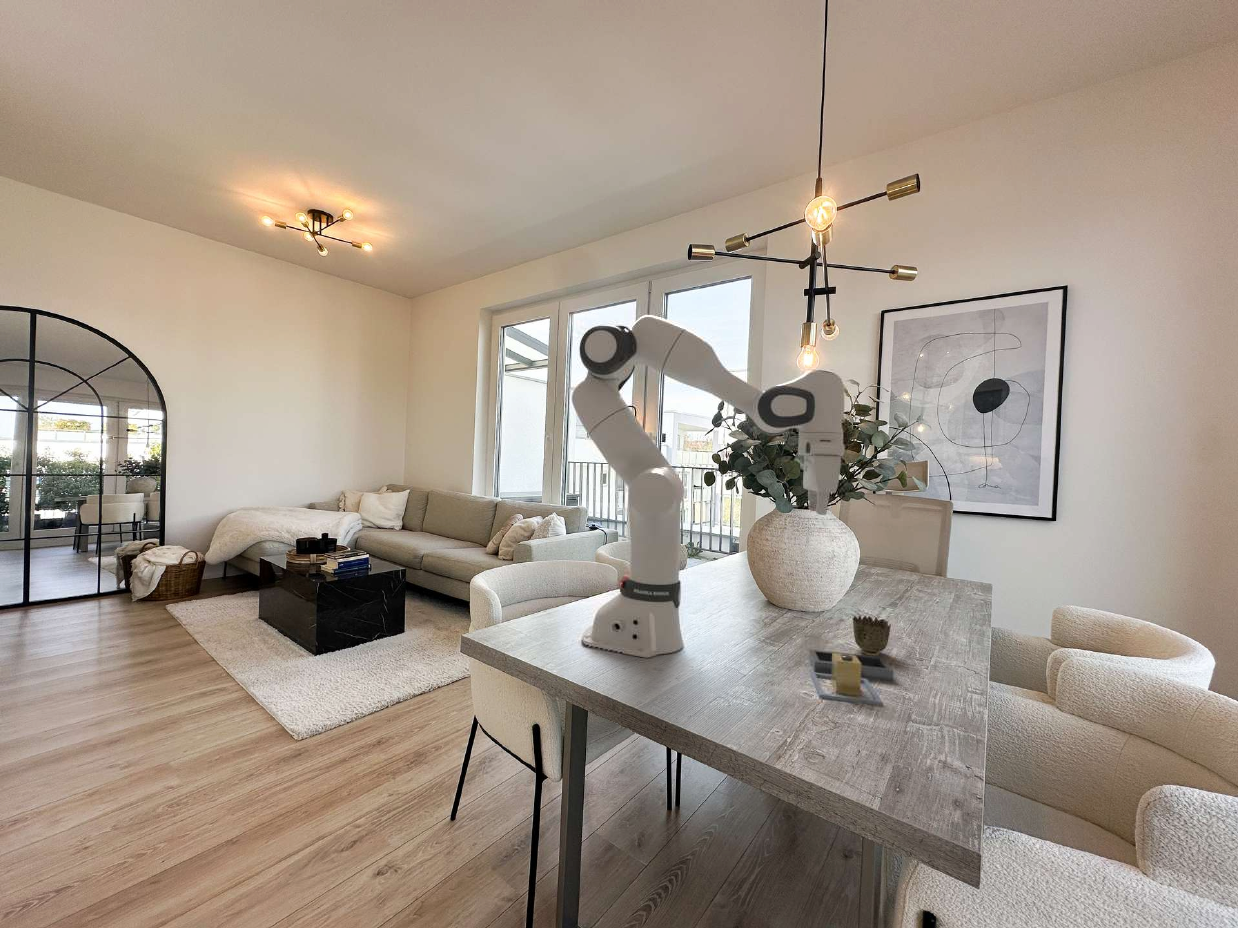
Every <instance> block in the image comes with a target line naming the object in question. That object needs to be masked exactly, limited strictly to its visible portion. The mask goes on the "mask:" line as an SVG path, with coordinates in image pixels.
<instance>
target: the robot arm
mask: <svg viewBox="0 0 1238 928" xmlns="http://www.w3.org/2000/svg"><path fill="white" fill-rule="evenodd" d="M579 358H580V360H581V362H582V364H583V366H584V367H585V368H586V370H587V373H586V377H585V378H584V380H582V381H581V382H580V383H579V384H577V386H576V387H575V388H574V390H573V392H572V394H571V403H572V405H573V408H574V410H575V413H576V415H577V417H578V420H580V423H581V425H582V427H583V428H584V429H585V431H586V433H587V435H588V436H589V437H590V439H591V440H592V442H593V444H594V445H595V446H596V448H597V449H598V451H599V453H600V454H601V455H602V456H603V458H604V459H605V461H606V462H607V464H608V465H609V466H610V467H611V468H612V469H613V470H614V472H615V473H616V474H617V475H618V476H619V477H620V479H621V480H622V481H623V483H624V484H625V485H626V486H627V488H628V513H629V514H628V516H629V518H628V519H629V534H630V535H629V536H630V553H629V555H630V556H629V575H628V574H624V575H623V576H622V577H621V580H620V583H619V592H620V593H619V594H617V595H615V597H612V599H610V600H609V601H607V602H606V603H605V604H603V605H602V606H601V607H599V609H598V610H597V611H596V612H595V616H594V620H593V624H592V625H590V626H589V627H587V629H585V631H584V632H583V633H582V636H581V642H582V641H583V643H584V644H585V645H590V646H594V647H593V648H595V647H600V648H603V649H602V650H605V649H608V650H607V651H610V650H614V651H613V652H615V651H617V653H620V652H622V654H626V655H630V656H636V657H639V658H640V657H642V658H652V657H655V656H659V655H663V654H665V655H666V654H669V653H675V652H678V651H680V650H682V648H683V647H684V645H685V644H684V641H683V636H682V630H681V623H680V609H679V607H680V605H681V597H682V595H681V594H682V586H681V580H680V562H681V505H682V502H683V499H684V495H685V488H684V485H683V481H682V479H681V478H680V476H679V474H678V473H677V472H676V471H675V470H674V468H673V467H672V465H671V464H670V463H669V461H668V460H667V458H666V457H665V456H664V454H663V453H662V452H661V450H660V449H659V448H658V446H657V445H656V444H655V442H654V441H653V440H652V438H651V437H650V436H649V435H648V433H647V432H646V430H645V429H644V427H643V425H642V424H641V423H640V422H639V420H638V419H637V417H636V416H635V414H634V412H633V411H632V410H631V408H630V406H629V405H627V402H625V399H624V397H622V395H621V393H620V391H621V390H622V388H623V387H624V386H625V384H626V383H627V382H628V381H629V380H630V378H631V377H632V376H633V374H634V372H635V368H636V366H639V365H644V366H646V367H650V368H652V369H654V370H655V371H658V372H659V373H661V374H663V375H664V376H665V377H668V378H670V379H672V380H675V381H677V382H679V383H681V384H684V385H687V386H689V387H692V388H695V389H698V390H701V391H703V392H706V393H708V394H711V395H713V396H715V397H716V398H718V399H720V400H722V401H723V402H725V403H727V404H728V405H730V406H731V407H733V408H735V409H737V410H739V411H740V412H742V414H745V415H746V417H747V418H748V419H749V420H750V422H751V423H752V425H754V427H755V428H756V429H757V430H758V431H759V432H761V433H762V434H764V435H767V436H774V437H775V436H781V435H783V434H784V435H785V434H786V433H788V432H789V431H790V430H791V429H797V430H798V446H797V455H798V456H803V463H804V465H803V478H802V479H803V480H802V486H803V489H804V490H807V497H808V498H807V499H808V509H809V511H811V512H816V514H817V515H822V516H825V515H827V513H828V504H829V502H830V501H829V500H830V494H835V493H836V492H837V489H838V487H839V480H840V472H841V464H842V458H841V457H843V456H844V455H845V444H844V430H843V425H842V422H843V418H844V414H845V388H844V382H843V379H842V378H841V377H840V376H839V375H838V374H835V372H831V371H826V370H821V369H818V370H816V369H815V370H814V369H812V370H807V371H806V372H805V373H804V374H802V375H801V376H799V377H797V378H795V379H792V380H791V381H787V382H785V383H781V384H777V385H773V386H771V387H768V388H767V389H765V390H761V389H758V388H757V387H755V386H753V385H751V384H750V383H748V382H746V381H745V380H744V379H741V378H739V377H738V376H736V375H735V374H733V373H731V371H729V370H727V368H726V367H725V366H724V365H723V363H722V362H721V360H720V359H719V357H718V356H717V354H716V351H715V349H714V348H713V347H712V346H711V344H709V343H708V342H707V341H705V339H703V338H702V337H700V336H699V335H698V334H696V333H695V332H693V331H691V330H689V329H687V328H686V327H683V326H681V325H679V324H677V323H676V322H672V321H670V320H667V319H665V318H663V317H658V316H655V315H650V314H646V315H643V316H640V317H639V318H638V319H637V320H636V321H635V322H634V323H633V325H632V327H631V328H630V327H629V326H627V325H622V324H621V325H608V324H603V325H596V326H593V327H591V328H590V329H588V330H587V331H586V332H585V333H584V334H583V336H582V337H581V340H580V343H579ZM583 643H582V644H583ZM584 644H583V645H584ZM585 645H584V646H585ZM590 646H589V647H590ZM600 648H599V649H600Z"/></svg>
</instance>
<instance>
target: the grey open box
mask: <svg viewBox="0 0 1238 928" xmlns="http://www.w3.org/2000/svg"><path fill="white" fill-rule="evenodd" d="M832 653H837V654H846V655H855V656H856V657H857V658H858V660H859V661H860V662H861V678H866V679H867V680H876V681H877V680H878V681H884V682H894V674H895V673H894V669H893V668H892V667H891V666H890V665H889V663H888V662H887V661H886V660H885V658H884V657H881V656H872V655H867V654H865V655H863V654H855V653H847V652H837V651H830V650H829V651H828V650H819V649H810V648H809V649H808V661H809V664H810V666H811V667H812V670H813V672H816V673H824V674H831V672H832Z"/></svg>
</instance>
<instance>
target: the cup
mask: <svg viewBox="0 0 1238 928" xmlns="http://www.w3.org/2000/svg"><path fill="white" fill-rule="evenodd" d="M852 627H853V636H854V637H853V638H854V642H855V644H856V646H858V647H859V648H860V649H861V650H860V652H861V653H862V654H865V655H866V656H875V657H879V656H880V652H883V651H884V650H885V649H886V648H887V645H888V642H889V639H890V632H891V627H892V624H891V623H889V621H887V620H885V619H884V618H881V619H879V620H878V617H877V616H876V617H875V618H874V619H873V618H872V616H868V617H867V616H866V615H864V616H863V617H862V616H861V615H859V616H858V617H857V616H856V615H854V616H853V617H852Z"/></svg>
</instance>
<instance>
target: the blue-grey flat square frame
mask: <svg viewBox="0 0 1238 928" xmlns="http://www.w3.org/2000/svg"><path fill="white" fill-rule="evenodd" d="M809 675H810V678H811V681H812V682H813V686H814V687H815V690H816V693H817V695H818V698H819V699H826V700H827V699H828V700H835V701H842V702H851V703H858V704H859V703H860V704H866V705H873V706H874V705H875V706H881V707H882V706H884V702H883V701H882V699H881V698H880V696H879V694H878V693H877V691H876V690H875V689H874V687H873V686H872V684H871V683H870V681H869V679H866V678H861V684H863V685H864V686H865V688H866V689H867V691H868V692H869V694H870V695H871V697H872V698H865V697H857V696H849V695H841V694H835V693H833V694H832V693H828V692H827V693H826V692H824V691H823V688H822V686H821V684H820V681H819V679H818V678H821V679H829V680H831V674H825V673H816V672H814V671H811V672H809Z"/></svg>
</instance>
